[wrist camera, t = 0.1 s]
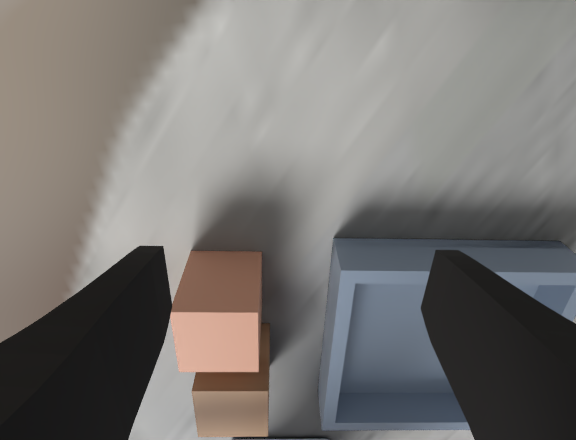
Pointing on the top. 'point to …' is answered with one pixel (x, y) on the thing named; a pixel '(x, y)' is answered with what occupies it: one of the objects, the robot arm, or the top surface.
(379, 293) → the tray
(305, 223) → the top surface
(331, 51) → the top surface
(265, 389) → the tan block
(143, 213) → the top surface
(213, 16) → the top surface
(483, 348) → the robot arm
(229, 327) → the terracotta block
